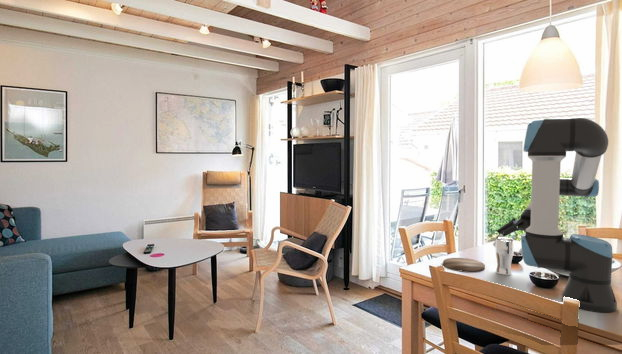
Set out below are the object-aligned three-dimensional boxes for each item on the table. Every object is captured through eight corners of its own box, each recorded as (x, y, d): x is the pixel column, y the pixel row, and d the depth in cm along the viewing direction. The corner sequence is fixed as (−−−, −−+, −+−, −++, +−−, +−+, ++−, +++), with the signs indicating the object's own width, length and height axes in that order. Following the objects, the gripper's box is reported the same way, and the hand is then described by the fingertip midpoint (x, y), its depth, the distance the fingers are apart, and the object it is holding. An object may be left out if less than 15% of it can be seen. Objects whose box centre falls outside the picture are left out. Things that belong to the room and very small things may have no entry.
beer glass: (515, 276, 156) (516, 241, 155) (497, 275, 157) (498, 240, 156) (509, 271, 163) (510, 237, 162) (492, 270, 164) (493, 237, 163)
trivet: (492, 271, 162) (492, 269, 162) (452, 272, 162) (452, 269, 162) (474, 260, 180) (474, 257, 180) (437, 260, 180) (437, 257, 180)
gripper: (564, 224, 155) (537, 263, 150) (513, 215, 178) (489, 248, 174) (556, 212, 152) (528, 251, 148) (505, 205, 176) (480, 238, 172)
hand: (507, 250), depth 161 cm, fingers open, 13 cm apart
